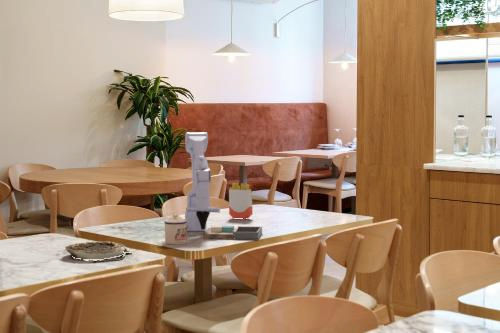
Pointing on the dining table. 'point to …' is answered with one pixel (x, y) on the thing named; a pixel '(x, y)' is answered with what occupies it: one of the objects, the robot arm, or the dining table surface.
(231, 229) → the teal tile
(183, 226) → the teacup with lid
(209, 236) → the walnut board
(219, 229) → the cream tile
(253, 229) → the tray
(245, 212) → the french fries container
